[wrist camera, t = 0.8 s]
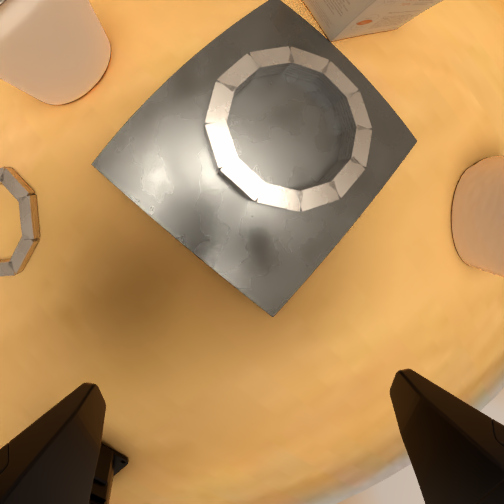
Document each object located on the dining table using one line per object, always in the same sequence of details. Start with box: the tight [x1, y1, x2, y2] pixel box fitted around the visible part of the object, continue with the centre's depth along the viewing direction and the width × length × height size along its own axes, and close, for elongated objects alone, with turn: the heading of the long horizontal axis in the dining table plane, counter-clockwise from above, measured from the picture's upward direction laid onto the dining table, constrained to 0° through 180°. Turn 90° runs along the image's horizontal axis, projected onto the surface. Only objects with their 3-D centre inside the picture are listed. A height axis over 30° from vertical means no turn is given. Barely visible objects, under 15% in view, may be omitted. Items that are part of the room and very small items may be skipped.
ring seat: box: [92, 0, 417, 317], centre depth 18 cm, size 18×16×2 cm
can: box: [0, 0, 111, 105], centre depth 9 cm, size 6×6×12 cm
